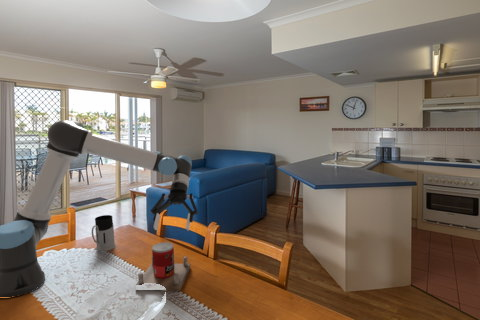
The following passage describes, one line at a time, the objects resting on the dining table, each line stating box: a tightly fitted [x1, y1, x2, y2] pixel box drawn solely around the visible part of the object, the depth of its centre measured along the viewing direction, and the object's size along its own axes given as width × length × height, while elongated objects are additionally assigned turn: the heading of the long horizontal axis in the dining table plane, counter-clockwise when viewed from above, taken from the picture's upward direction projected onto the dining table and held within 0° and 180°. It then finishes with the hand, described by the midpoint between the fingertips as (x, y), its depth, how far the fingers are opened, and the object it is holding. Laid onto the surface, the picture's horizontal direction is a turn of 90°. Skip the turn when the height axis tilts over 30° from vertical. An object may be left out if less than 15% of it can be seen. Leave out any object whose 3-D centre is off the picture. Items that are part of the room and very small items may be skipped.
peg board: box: [135, 256, 191, 293], centre depth 106 cm, size 16×16×6 cm
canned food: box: [151, 241, 175, 279], centre depth 106 cm, size 8×8×11 cm
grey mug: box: [91, 214, 117, 252], centre depth 132 cm, size 9×14×15 cm, turn 176°
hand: (171, 229), depth 115 cm, fingers open, 13 cm apart
